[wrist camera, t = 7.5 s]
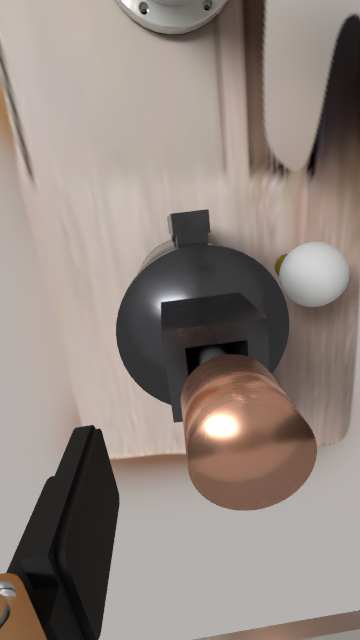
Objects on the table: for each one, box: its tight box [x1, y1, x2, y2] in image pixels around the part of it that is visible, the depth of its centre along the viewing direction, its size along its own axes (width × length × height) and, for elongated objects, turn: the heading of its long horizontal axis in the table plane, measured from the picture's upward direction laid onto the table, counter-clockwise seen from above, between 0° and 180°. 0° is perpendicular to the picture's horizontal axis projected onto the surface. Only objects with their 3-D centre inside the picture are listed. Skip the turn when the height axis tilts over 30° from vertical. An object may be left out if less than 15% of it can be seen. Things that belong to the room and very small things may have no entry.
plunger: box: [181, 343, 317, 510], centre depth 15 cm, size 4×4×10 cm
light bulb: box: [275, 242, 350, 307], centre depth 30 cm, size 6×6×10 cm
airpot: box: [116, 210, 289, 423], centre depth 25 cm, size 16×11×21 cm
